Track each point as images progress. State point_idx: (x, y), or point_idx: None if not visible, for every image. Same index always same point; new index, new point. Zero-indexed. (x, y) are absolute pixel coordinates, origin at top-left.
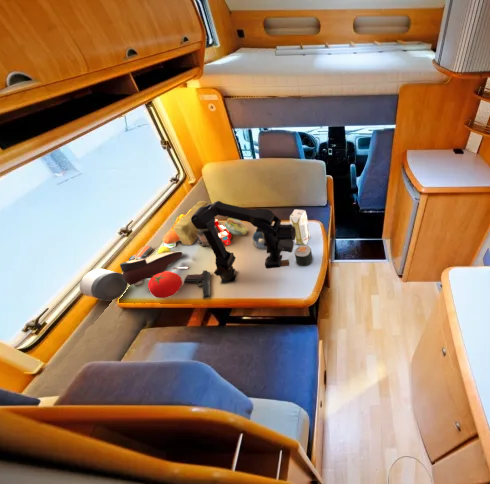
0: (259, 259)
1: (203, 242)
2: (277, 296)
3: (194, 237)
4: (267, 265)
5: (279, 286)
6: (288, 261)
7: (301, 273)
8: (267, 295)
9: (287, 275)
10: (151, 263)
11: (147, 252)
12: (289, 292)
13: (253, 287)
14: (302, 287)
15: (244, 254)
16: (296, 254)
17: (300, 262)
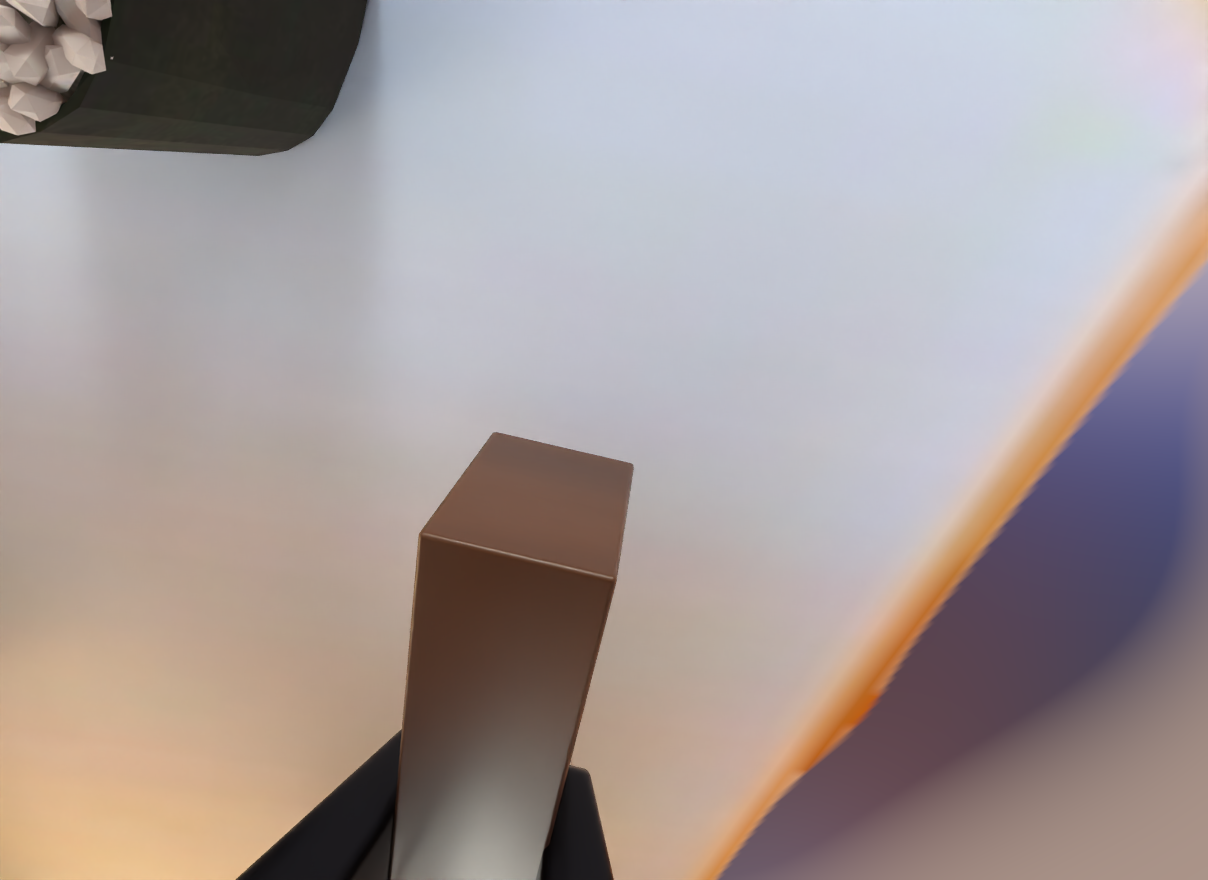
0: (147, 660)
1: None
2: (891, 578)
3: None
4: None
5: (716, 523)
6: (520, 522)
7: (562, 109)
8: (803, 677)
9: (532, 375)
10: None
11: None
12: (915, 410)
13: (601, 775)
14: (932, 161)
15: (61, 773)
16: (37, 78)
17: (294, 56)
